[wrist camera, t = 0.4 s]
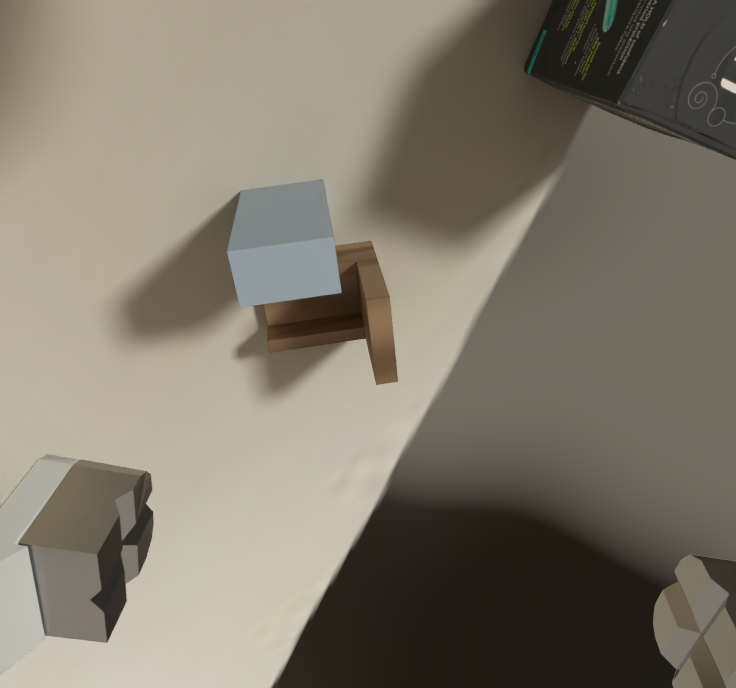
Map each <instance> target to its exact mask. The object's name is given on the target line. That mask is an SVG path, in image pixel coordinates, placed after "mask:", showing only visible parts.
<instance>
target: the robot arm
mask: <svg viewBox="0 0 736 688" xmlns="http://www.w3.org/2000/svg"><path fill="white" fill-rule="evenodd" d="M151 492H152V482H151V474H150V473H148V472H147V471H142V470H137V469H131V468H126V467H120V466H114V465H109V464H103V463H98V462H92V461H87V460H77V459H72V458H66V457H61V456H55V455H50V454H47V455H45V456H43V457H42V458H40V459H38V460H37V461H36V462H35V464H34V465H33V466H32V467H31V469H30V470H29V471H28V472H27V474H26V475H25V476H24V477H23V479H22V480H21V481H20V483H19V484H18V485H17V486H16V488H15V489H14V490H13V491H12V493H11V494H10V495H9V496H8V498H7V499H6V500H5V501H4V503H3V504H2V505H1V507H0V676H1V675H2V674H3V673H5V672H6V671H7V670H8V669H10V668H11V667H12V666H13V665H14V664H16V663H17V662H18V661H19V660H21V659H22V658H23V657H24V656H25V655H27V654H28V653H29V652H30V651H32V650H33V649H34V648H35V647H37V646H38V645H39V644H40V643H41V642H43V641H44V640H45V635H46V636H55V637H63V638H71V639H80V640H88V641H97V642H105V643H107V642H108V640H109V638H110V636H111V633H112V631H113V629H114V627H115V625H116V623H117V621H118V619H119V616H120V614H121V612H122V610H123V608H124V606H125V604H126V601H127V599H126V583H128V582H129V581H131V580H132V579H133V578H135V577H136V576H138V575H139V573H140V571H141V569H142V566H143V564H144V562H145V560H146V557H147V553H148V550H149V546H150V543H151V539H152V532H153V511H152V510H151V509H150V508H149V507H148V506H147V504H146V502H147V500H148V498H149V496H150V494H151ZM675 573H676V576H677V579H678V582H677V583H675V584H673V585H672V586H670V587H668V588H666V589H664V590H663V591H662V593H661V595H660V596H659V599H658V600H657V602H656V604H655V611H654V620H653V624H654V631H655V637H656V640H657V643H658V646H659V649H660V651H661V654H662V655H663V656H664V657H665V658H666V659H667V660H668V661H669V662H670V663H671V664H672V665H673V666H674V667H675V668H676V669H677V670H676V673H675V676H674V678H673V682H672V684H673V687H674V688H736V561H731V560H724V559H717V558H710V557H703V556H696V555H689V556H687V557H685V558H683V559H682V560H681V561H680V563H679V564H678V566H677V568H676V569H675Z"/></svg>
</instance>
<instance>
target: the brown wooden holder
mask: <svg viewBox="0 0 736 688" xmlns="http://www.w3.org/2000/svg"><path fill="white" fill-rule="evenodd" d="M335 249H336V256H337V264H338V271H339V278H340V285H341V292H342V293H337V294H330V295H323V296H316V297H309V298H302V299H296V300H289V301H282V302H275V303H268V304H264V309H265V313H266V318H267V323H268V338H267V342H268V347H269V351H270V352H277V351H284V350H291V349H297V348H304V347H311V346H318V345H324V344H331V343H338V342H345V341H351V340H358V339H365V338H366V341H367V345H368V350H369V354H370V359H371V363H372V368H373V372H374V377H375V381H376V385H379V384H385V383H392V382H398V377H397V367H396V357H395V346H394V336H393V326H392V315H391V305H390V296H389V293H388V290H387V287H386V284H385V281H384V278H383V275H382V272H381V269H380V266H379V263H378V260H377V257H376V254H375V251H374V248H373V245H372V242H371V241H367V242H360V243H353V244H346V245H339V246H335Z"/></svg>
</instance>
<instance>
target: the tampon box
mask: <svg viewBox="0 0 736 688" xmlns="http://www.w3.org/2000/svg"><path fill="white" fill-rule="evenodd" d="M524 72H525V73H527V74H529V75H531V76H533V77H535V78H537V79H539V80H541V81H543V82H545V83H547V84H549V85H551V86H553V87H555V88H557V89H560V90H562V91H564V92H566V93H568V94H570V95H572V96H575V97H577V98H579V99H581V100H583V101H585V102H587V103H590V104H592V105H594V106H596V107H599V108H601V109H603V110H605V111H608V112H610V113H612V114H614V115H617V116H619V117H622V118H624V119H626V120H629V121H631V122H633V123H636V124H638V125H640V126H643V127H645V128H648V129H651V130H654V131H657V132H659V133H662V134H665V135H669V136H672V137H675V138H678V139H682V140H685V141H689V142H691V143H694V144H697V145H700V146H702V147H705V148H707V149H710V150H713V151H715V152H718V153H720V154H723V155H725V156H728V157H730V158H733V159H735V160H736V0H553V2H552V4H551V7H550V9H549V11H548V14H547V16H546V18H545V20H544V23H543V25H542V28H541V30H540V32H539V34H538V37H537V39H536V41H535V44H534V46H533V48H532V51H531V53H530V55H529V58H528V60H527V62H526V65H525V67H524Z"/></svg>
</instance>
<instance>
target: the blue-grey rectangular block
mask: <svg viewBox="0 0 736 688" xmlns="http://www.w3.org/2000/svg"><path fill="white" fill-rule="evenodd" d="M227 254H228V259H229V263H230V267H231V271H232V276H233V280H234V284H235V288H236V292H237V297H238V301H239V305H240V307H247V306H254V305H261V304H268V303H275V302H282V301H289V300H296V299H302V298H309V297H316V296H323V295H330V294H337V293H342V292H341V285H340V278H339V271H338V264H337V256H336V249H335V242H334V236H333V230H332V225H331V219H330V214H329V208H328V203H327V197H326V192H325V186H324V181H323V180H315V181H308V182H301V183H293V184H286V185H279V186H271V187H264V188H256V189H249V190H242V191H241V193H240V197H239V201H238V206H237V210H236V214H235V219H234V223H233V227H232V232H231V236H230V240H229V245H228V249H227Z"/></svg>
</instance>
